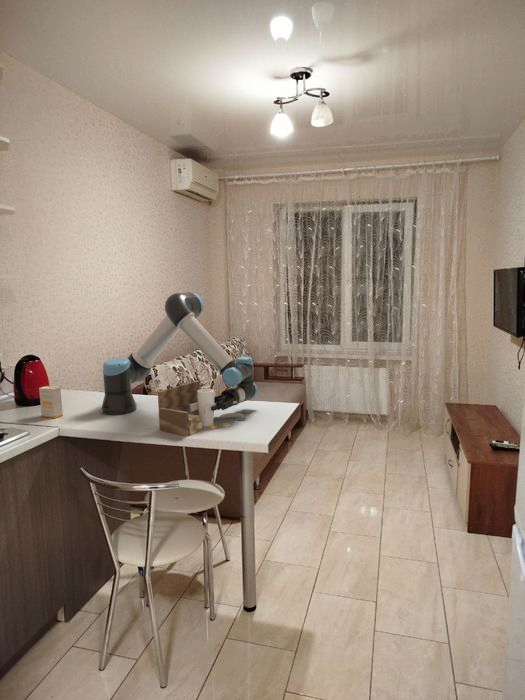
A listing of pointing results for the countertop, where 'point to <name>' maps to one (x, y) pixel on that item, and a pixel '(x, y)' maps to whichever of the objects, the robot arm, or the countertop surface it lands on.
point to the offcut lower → (195, 428)
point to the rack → (177, 408)
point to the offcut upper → (193, 419)
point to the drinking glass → (205, 399)
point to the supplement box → (51, 401)
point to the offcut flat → (219, 426)
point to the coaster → (233, 416)
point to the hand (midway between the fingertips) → (197, 409)
